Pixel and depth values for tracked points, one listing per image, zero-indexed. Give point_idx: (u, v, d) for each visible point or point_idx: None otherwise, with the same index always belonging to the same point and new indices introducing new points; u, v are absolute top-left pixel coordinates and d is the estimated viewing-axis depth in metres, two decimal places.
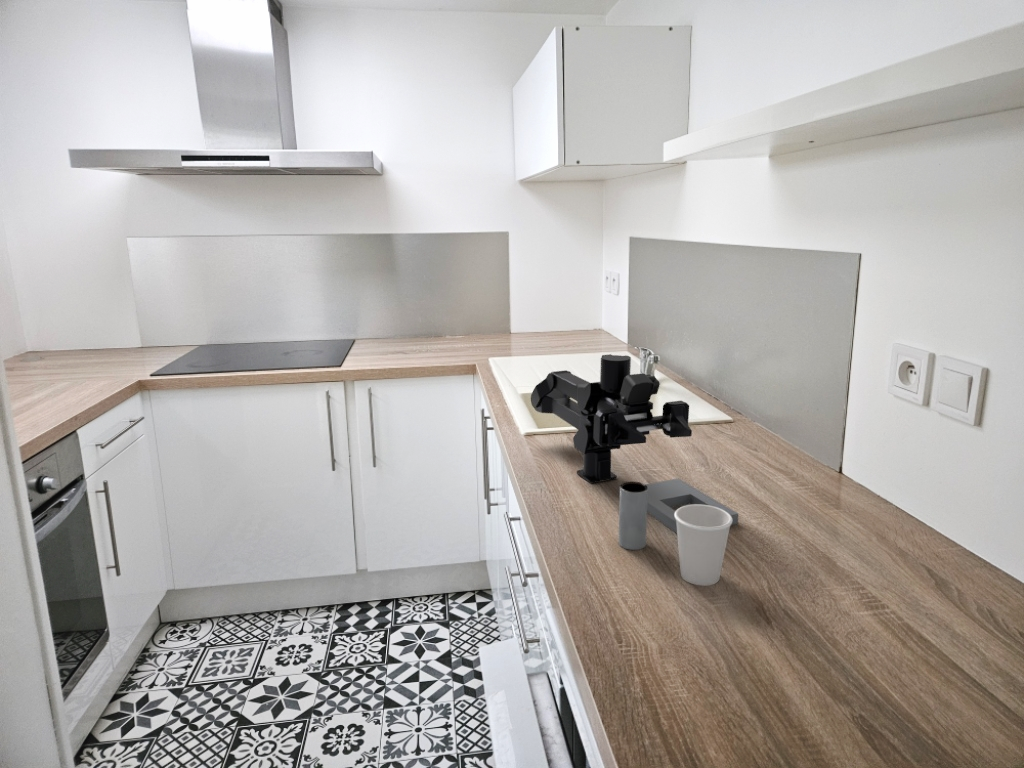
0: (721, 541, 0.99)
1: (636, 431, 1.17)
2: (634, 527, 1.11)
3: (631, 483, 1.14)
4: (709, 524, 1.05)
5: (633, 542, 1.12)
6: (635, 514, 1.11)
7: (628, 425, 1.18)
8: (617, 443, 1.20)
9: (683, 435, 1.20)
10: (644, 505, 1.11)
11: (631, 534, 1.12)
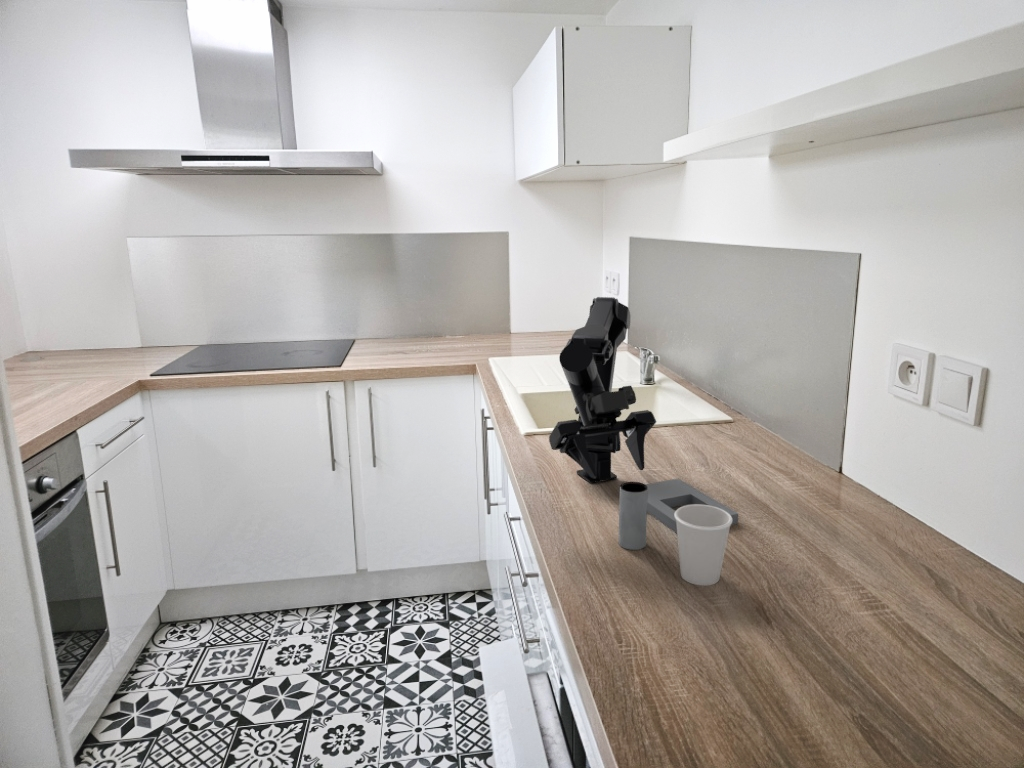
0: (721, 541, 0.99)
1: (590, 463, 1.14)
2: (634, 527, 1.11)
3: (631, 483, 1.14)
4: (709, 524, 1.05)
5: (633, 542, 1.12)
6: (635, 514, 1.11)
7: (585, 451, 1.15)
8: (569, 454, 1.18)
9: (635, 462, 1.19)
10: (644, 505, 1.11)
11: (631, 534, 1.12)
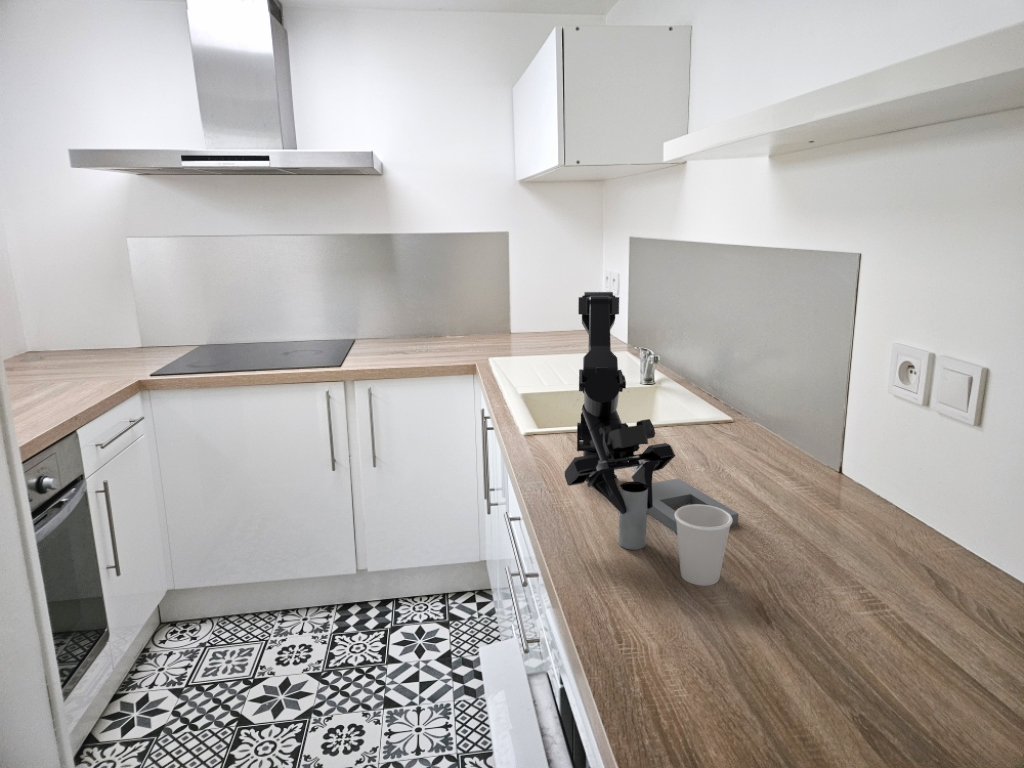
0: (721, 541, 0.99)
1: (619, 498, 1.11)
2: (634, 527, 1.11)
3: (631, 483, 1.14)
4: (709, 524, 1.05)
5: (633, 542, 1.12)
6: (635, 514, 1.11)
7: (614, 485, 1.11)
8: (597, 488, 1.14)
9: None
10: (644, 505, 1.11)
11: (631, 534, 1.12)
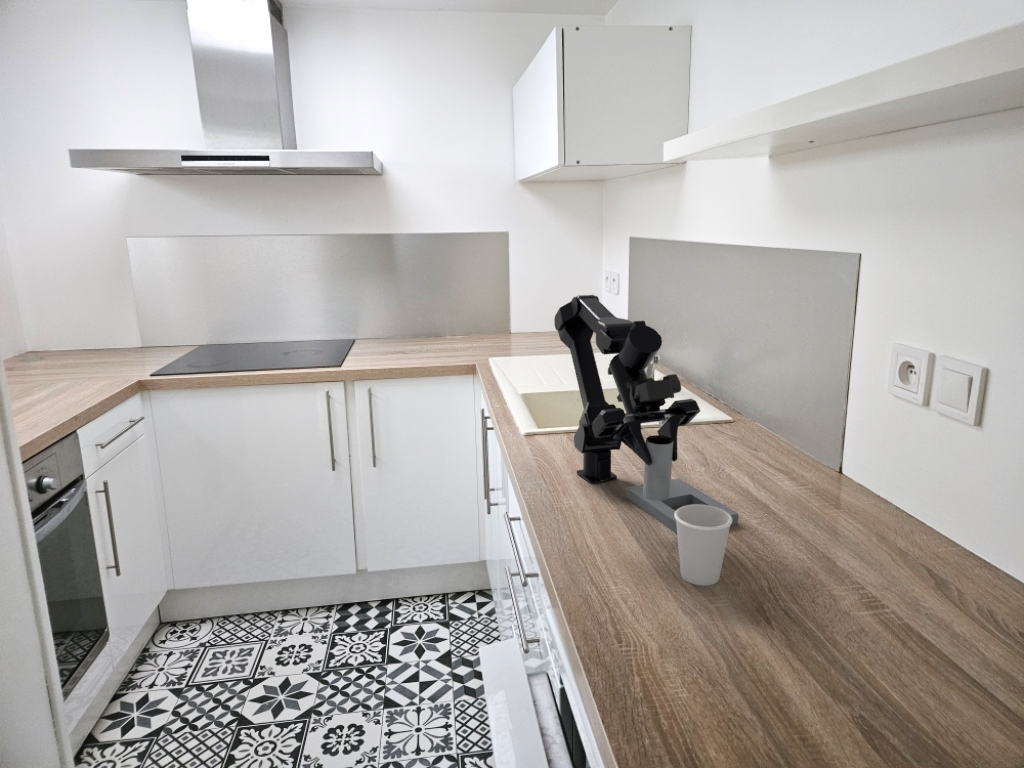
0: (721, 541, 0.99)
1: (645, 450, 1.14)
2: (659, 478, 1.15)
3: (657, 437, 1.17)
4: (709, 524, 1.05)
5: (657, 493, 1.15)
6: (660, 466, 1.14)
7: (640, 437, 1.15)
8: (623, 441, 1.18)
9: None
10: (669, 457, 1.14)
11: (656, 485, 1.15)
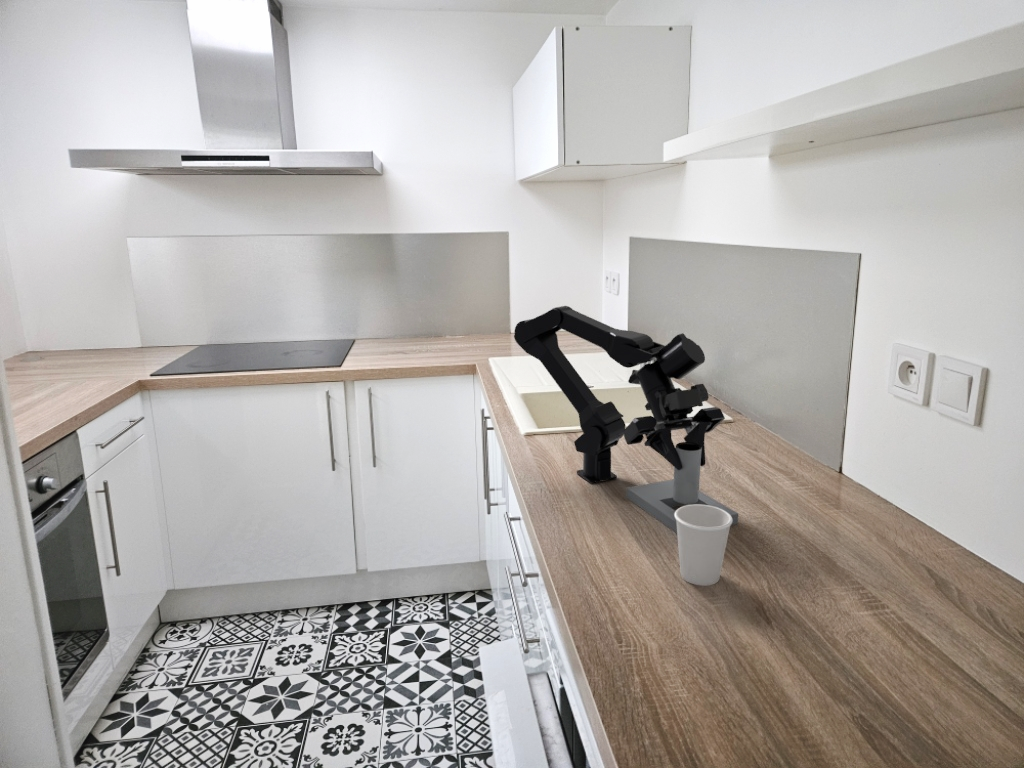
0: (721, 541, 0.99)
1: (676, 455, 1.21)
2: (689, 483, 1.21)
3: (685, 443, 1.24)
4: (709, 524, 1.05)
5: (687, 497, 1.22)
6: (690, 471, 1.21)
7: (671, 444, 1.21)
8: (653, 447, 1.24)
9: None
10: (698, 462, 1.21)
11: (686, 489, 1.22)
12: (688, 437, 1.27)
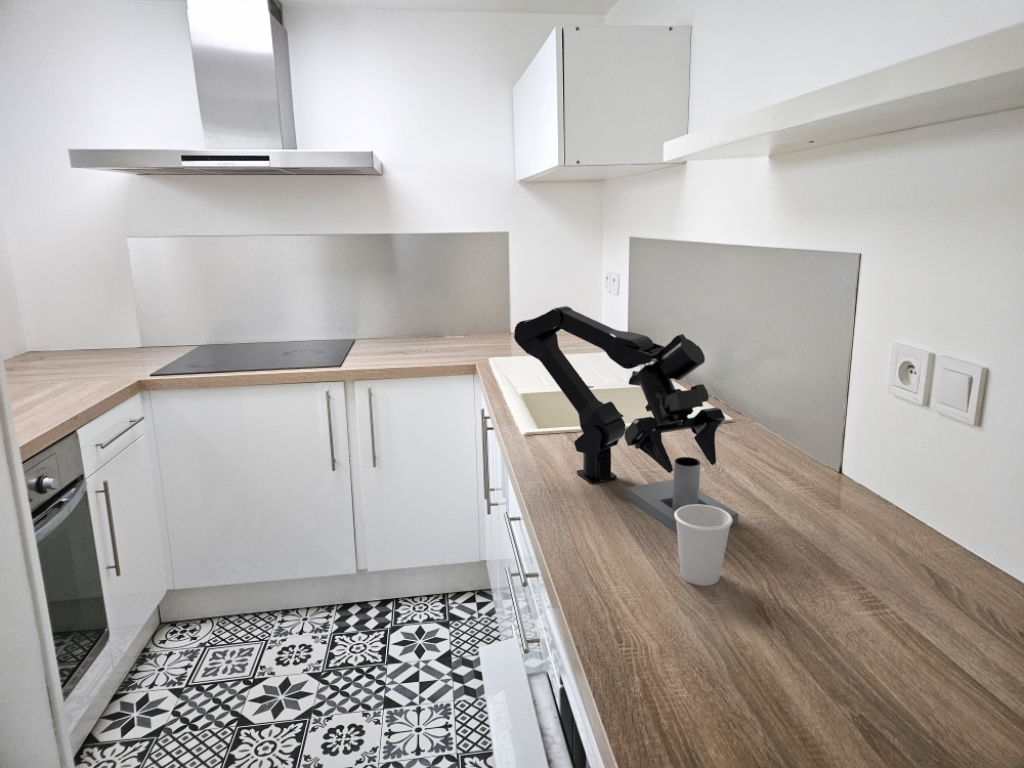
0: (721, 541, 0.99)
1: (666, 458, 1.20)
2: (688, 498, 1.22)
3: (684, 458, 1.24)
4: (709, 524, 1.05)
5: None
6: (689, 486, 1.21)
7: (661, 446, 1.21)
8: (644, 450, 1.24)
9: (706, 457, 1.25)
10: (697, 478, 1.22)
11: (685, 504, 1.22)
12: (698, 436, 1.27)
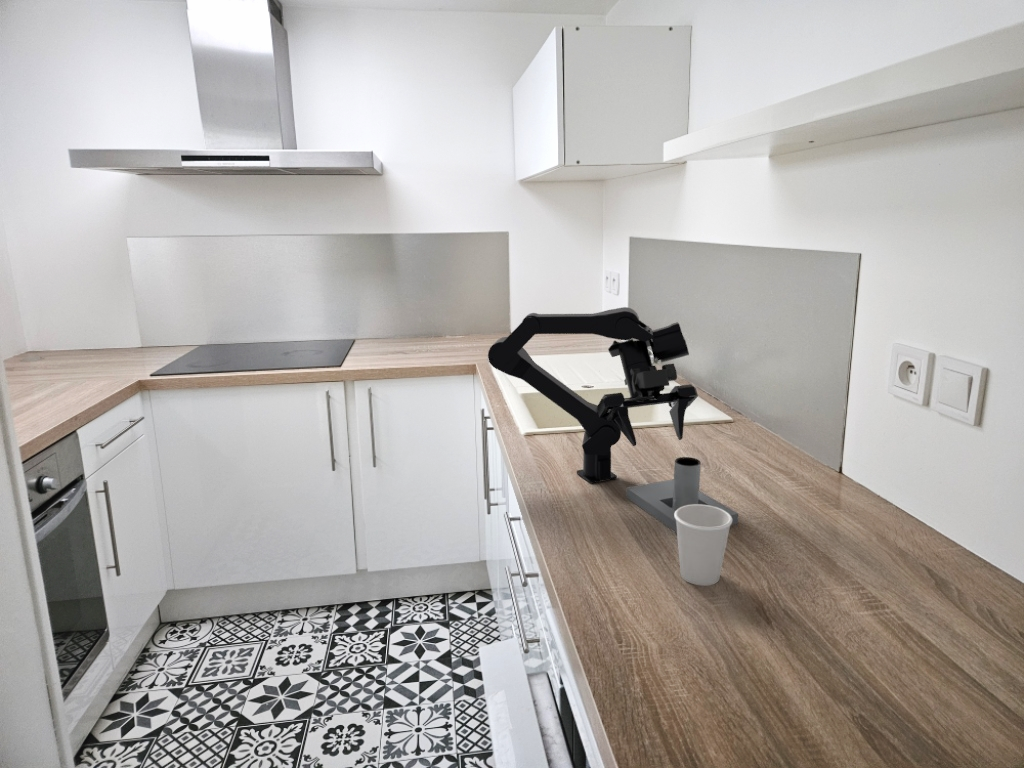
0: (721, 541, 0.99)
1: (631, 432, 1.28)
2: (688, 498, 1.22)
3: (684, 458, 1.24)
4: (709, 524, 1.05)
5: None
6: (689, 486, 1.21)
7: (627, 421, 1.29)
8: (615, 422, 1.32)
9: (676, 431, 1.31)
10: (697, 477, 1.22)
11: (685, 504, 1.22)
12: (672, 411, 1.33)
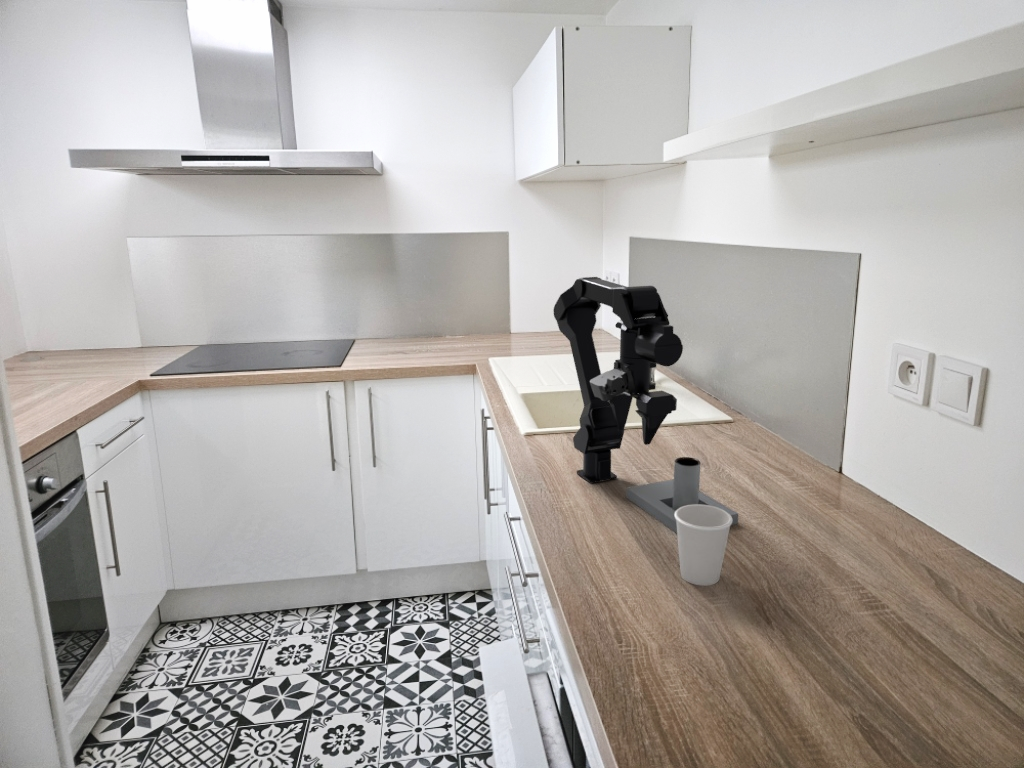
0: (721, 541, 0.99)
1: (615, 418, 1.31)
2: (688, 498, 1.22)
3: (684, 458, 1.24)
4: (709, 524, 1.05)
5: None
6: (689, 486, 1.21)
7: (613, 408, 1.31)
8: None
9: None
10: (697, 478, 1.22)
11: (685, 504, 1.22)
12: None
